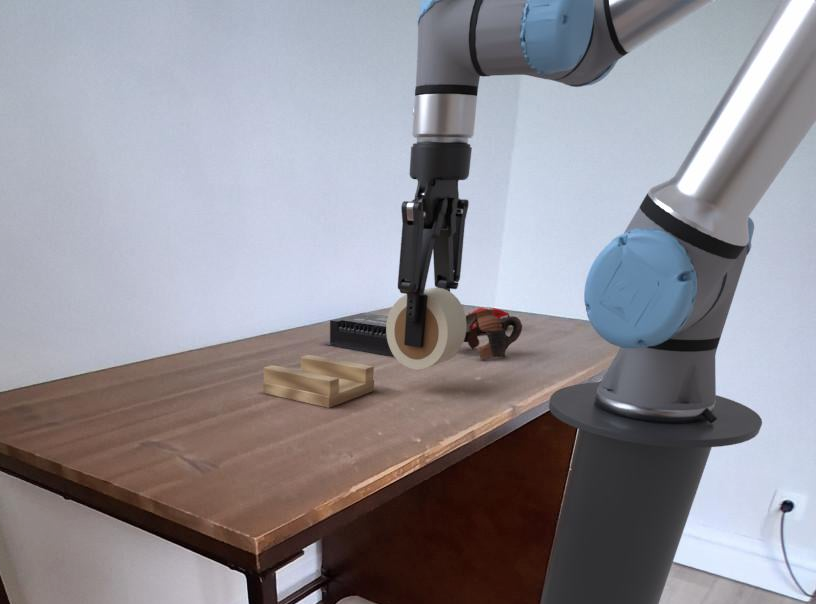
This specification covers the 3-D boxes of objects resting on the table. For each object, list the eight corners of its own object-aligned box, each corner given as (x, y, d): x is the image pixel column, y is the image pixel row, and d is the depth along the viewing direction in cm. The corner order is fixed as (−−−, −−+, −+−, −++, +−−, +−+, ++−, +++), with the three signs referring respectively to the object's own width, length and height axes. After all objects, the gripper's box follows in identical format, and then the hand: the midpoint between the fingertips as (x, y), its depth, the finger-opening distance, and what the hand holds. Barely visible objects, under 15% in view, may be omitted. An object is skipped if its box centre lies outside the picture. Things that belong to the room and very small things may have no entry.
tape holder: (373, 390, 98) (374, 366, 96) (329, 408, 91) (329, 381, 89) (310, 378, 104) (309, 354, 102) (263, 393, 97) (262, 367, 95)
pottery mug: (466, 365, 114) (454, 316, 112) (455, 378, 123) (443, 332, 122) (534, 344, 113) (522, 294, 112) (517, 358, 123) (506, 312, 121)
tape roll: (462, 367, 97) (471, 291, 91) (443, 375, 94) (451, 296, 88) (404, 357, 102) (408, 284, 96) (384, 364, 98) (387, 288, 93)
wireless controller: (324, 344, 124) (323, 237, 114) (367, 332, 133) (371, 232, 123) (414, 360, 114) (423, 244, 104) (455, 346, 123) (466, 239, 113)
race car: (470, 337, 131) (472, 314, 129) (449, 332, 134) (451, 310, 132) (513, 328, 138) (516, 307, 135) (493, 324, 141) (495, 303, 139)
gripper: (451, 143, 90) (434, 328, 104) (374, 138, 78) (367, 349, 92) (502, 143, 87) (478, 335, 100) (430, 138, 75) (413, 357, 88)
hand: (425, 341), depth 96 cm, fingers closed on tape roll, 6 cm apart
